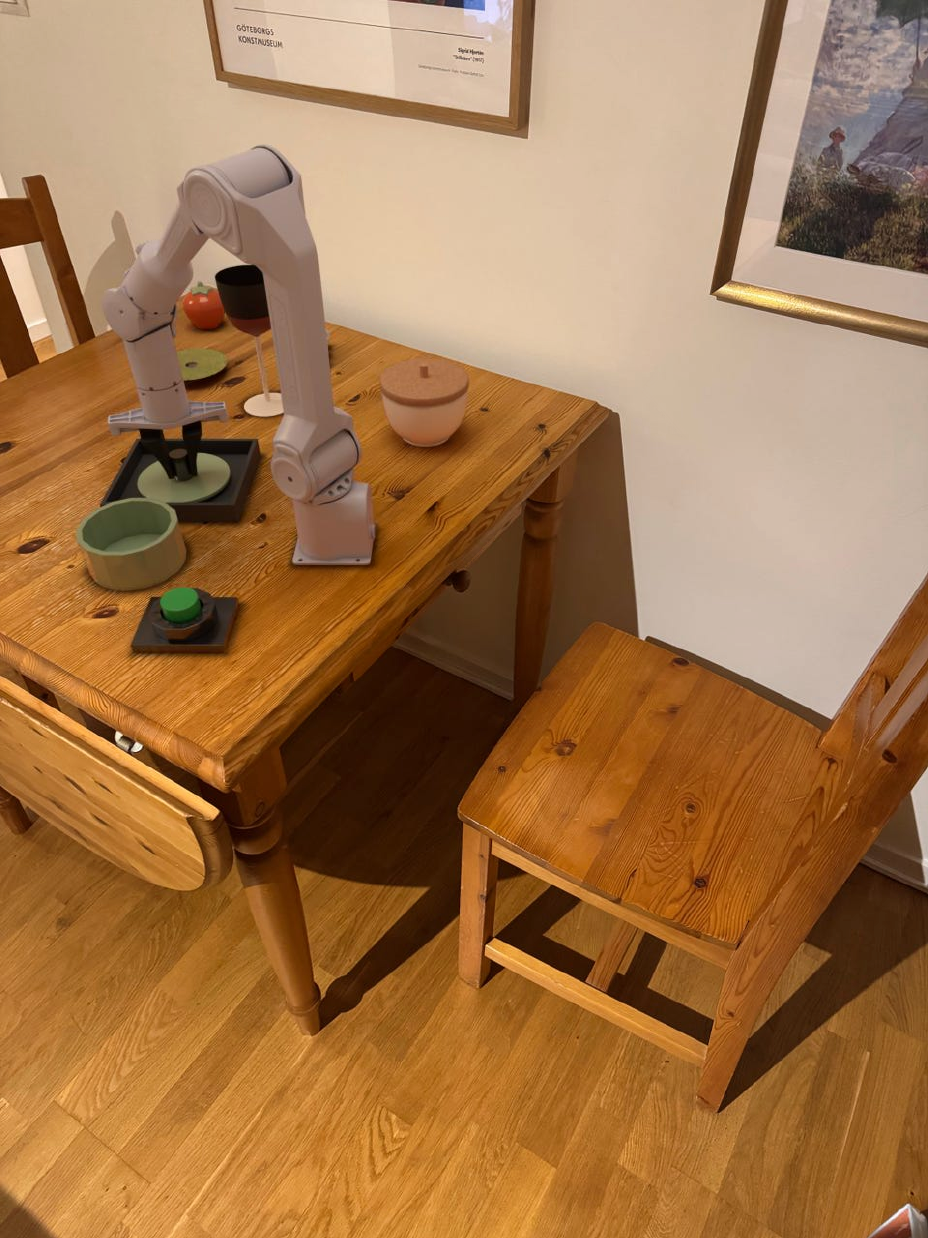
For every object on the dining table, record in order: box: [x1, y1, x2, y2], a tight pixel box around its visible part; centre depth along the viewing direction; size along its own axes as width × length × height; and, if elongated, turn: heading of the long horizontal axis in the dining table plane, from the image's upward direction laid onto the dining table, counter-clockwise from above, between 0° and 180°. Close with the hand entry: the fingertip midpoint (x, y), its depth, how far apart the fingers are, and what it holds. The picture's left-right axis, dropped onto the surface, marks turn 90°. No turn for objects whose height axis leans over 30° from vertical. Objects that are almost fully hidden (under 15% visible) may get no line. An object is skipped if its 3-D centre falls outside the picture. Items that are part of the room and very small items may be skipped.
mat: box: [176, 347, 228, 382], centre depth 141 cm, size 11×11×2 cm
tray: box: [99, 438, 262, 523], centre depth 116 cm, size 17×16×3 cm
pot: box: [75, 498, 187, 592], centre depth 104 cm, size 11×11×5 cm
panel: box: [130, 587, 240, 654], centre depth 96 cm, size 10×8×3 cm
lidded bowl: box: [378, 357, 470, 448], centre depth 123 cm, size 13×13×11 cm
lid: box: [137, 449, 231, 502], centre depth 115 cm, size 12×12×5 cm
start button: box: [160, 586, 201, 622], centre depth 94 cm, size 4×4×2 cm
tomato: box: [182, 280, 226, 331], centre depth 153 cm, size 7×7×8 cm
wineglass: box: [214, 264, 284, 417], centre depth 127 cm, size 8×9×20 cm
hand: (183, 473), depth 116 cm, fingers closed on lid, 2 cm apart
